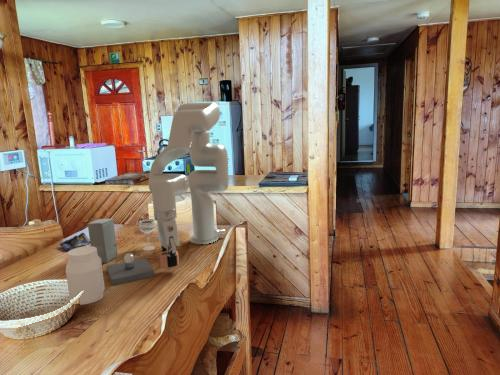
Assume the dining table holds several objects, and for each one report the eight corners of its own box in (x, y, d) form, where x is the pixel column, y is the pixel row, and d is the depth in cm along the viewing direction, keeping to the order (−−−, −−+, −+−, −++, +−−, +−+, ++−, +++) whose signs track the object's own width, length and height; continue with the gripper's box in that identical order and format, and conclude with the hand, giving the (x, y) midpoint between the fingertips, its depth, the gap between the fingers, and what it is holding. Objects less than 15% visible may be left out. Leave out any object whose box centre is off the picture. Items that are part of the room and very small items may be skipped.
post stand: (145, 262, 145) (144, 245, 143) (154, 276, 132) (153, 257, 131) (106, 270, 138) (104, 252, 137) (112, 285, 126) (110, 265, 125)
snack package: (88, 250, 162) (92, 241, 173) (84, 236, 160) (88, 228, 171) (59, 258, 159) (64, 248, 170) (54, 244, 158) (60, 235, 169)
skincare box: (107, 263, 145) (103, 223, 142) (90, 262, 147) (86, 223, 144) (119, 255, 153) (115, 217, 151) (103, 254, 155) (99, 217, 152)
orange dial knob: (175, 260, 138) (174, 247, 137) (181, 266, 133) (180, 253, 132) (158, 264, 135) (157, 251, 134) (163, 270, 130) (162, 257, 129)
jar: (103, 301, 115) (97, 254, 112) (68, 307, 112) (62, 259, 109) (105, 285, 126) (100, 242, 123) (73, 290, 123) (68, 246, 120)
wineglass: (137, 250, 159) (134, 222, 157) (147, 244, 165) (145, 218, 163) (150, 251, 157) (148, 223, 154) (160, 246, 163) (158, 219, 160)
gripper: (183, 218, 124) (187, 269, 128) (168, 206, 139) (172, 252, 143) (161, 222, 121) (165, 274, 125) (148, 210, 136) (153, 256, 140)
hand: (169, 262), depth 134 cm, fingers closed on orange dial knob, 6 cm apart
